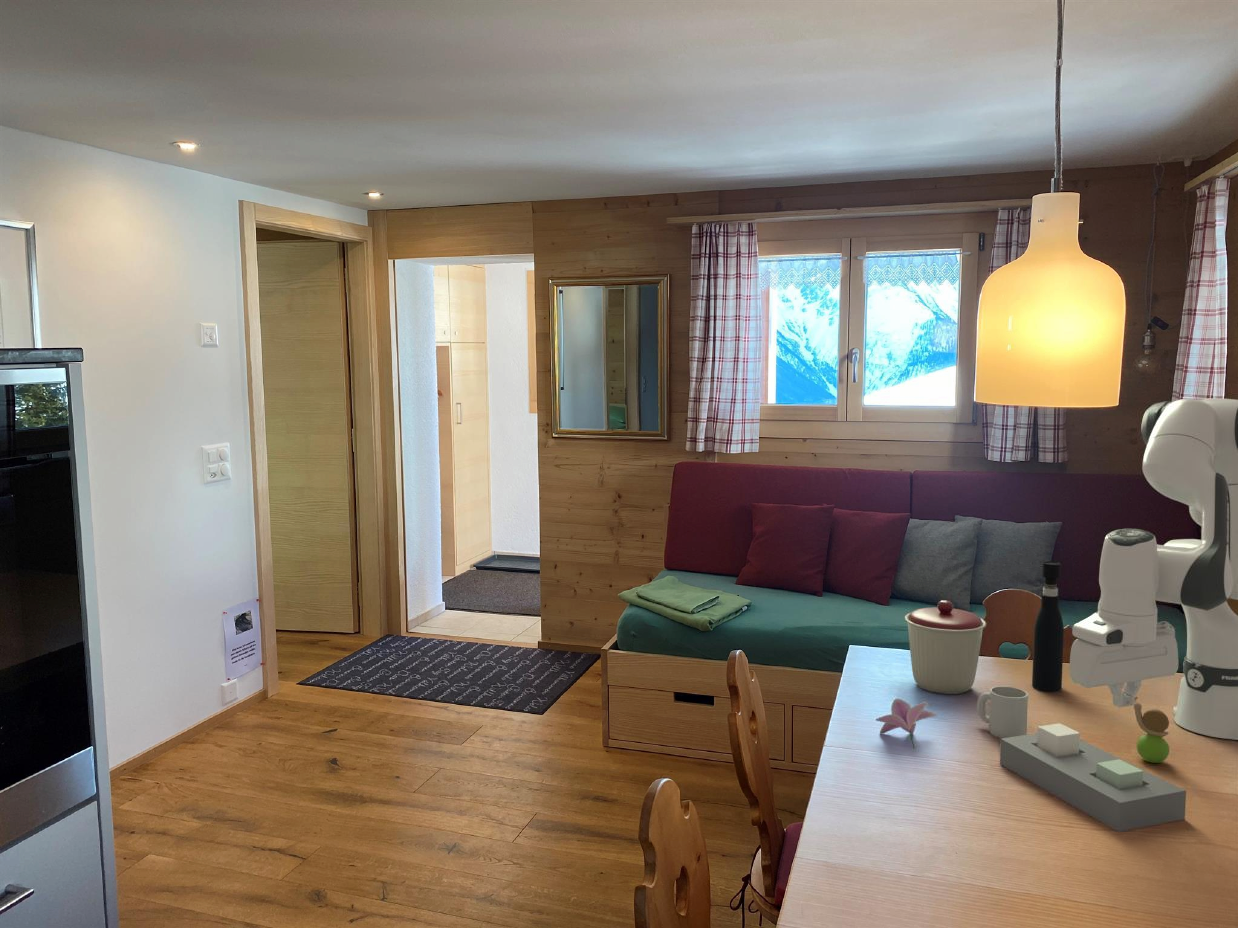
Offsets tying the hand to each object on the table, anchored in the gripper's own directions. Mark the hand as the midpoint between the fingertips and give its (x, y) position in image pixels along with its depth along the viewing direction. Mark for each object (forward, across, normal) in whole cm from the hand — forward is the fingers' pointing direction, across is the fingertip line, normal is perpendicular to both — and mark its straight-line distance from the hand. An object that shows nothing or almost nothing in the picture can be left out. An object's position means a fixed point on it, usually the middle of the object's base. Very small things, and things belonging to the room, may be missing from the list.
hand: (1123, 705), depth 159 cm
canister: (+18, -10, -61) cm, 64 cm away
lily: (+18, +18, -37) cm, 45 cm away
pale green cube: (+16, 0, 0) cm, 16 cm away
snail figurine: (+18, -21, -13) cm, 31 cm away
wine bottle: (+19, -33, -53) cm, 65 cm away
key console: (+18, 0, -7) cm, 19 cm away
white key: (+15, 0, -14) cm, 20 cm away
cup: (+18, -4, -34) cm, 39 cm away
